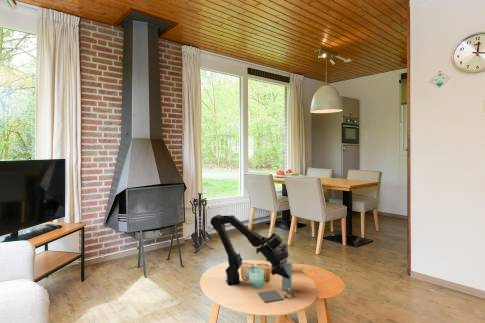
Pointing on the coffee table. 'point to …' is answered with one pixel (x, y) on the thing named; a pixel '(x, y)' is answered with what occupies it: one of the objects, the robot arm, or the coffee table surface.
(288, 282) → the slate block
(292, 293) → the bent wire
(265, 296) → the rubber mat
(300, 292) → the coffee table surface
